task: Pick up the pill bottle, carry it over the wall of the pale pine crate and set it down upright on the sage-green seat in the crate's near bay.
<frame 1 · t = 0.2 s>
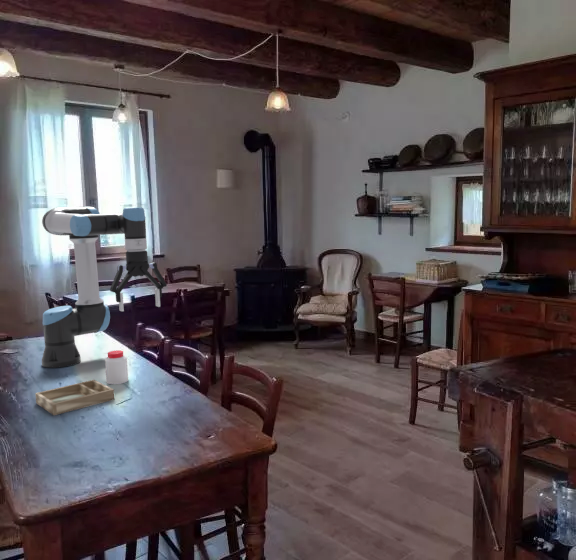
hand: (140, 308, 206), 27 cm above the table, fingers open, 13 cm apart
crate: (75, 401, 188), on the table
pill bottle: (117, 381, 210), on the table
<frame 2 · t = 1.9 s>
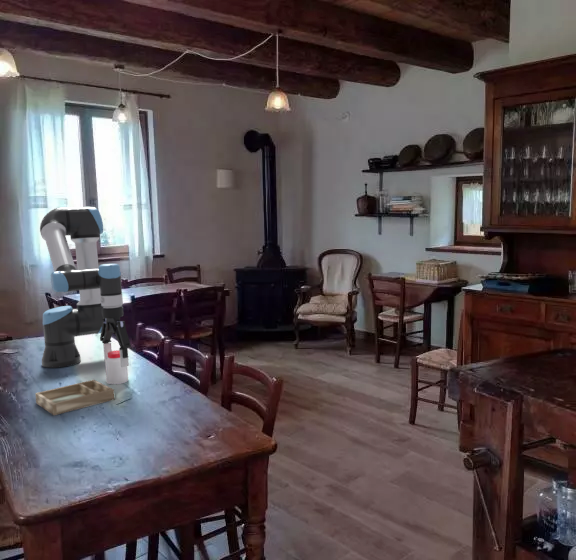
hand: (116, 363, 208), 7 cm above the table, fingers open, 13 cm apart
nothing on the table moved.
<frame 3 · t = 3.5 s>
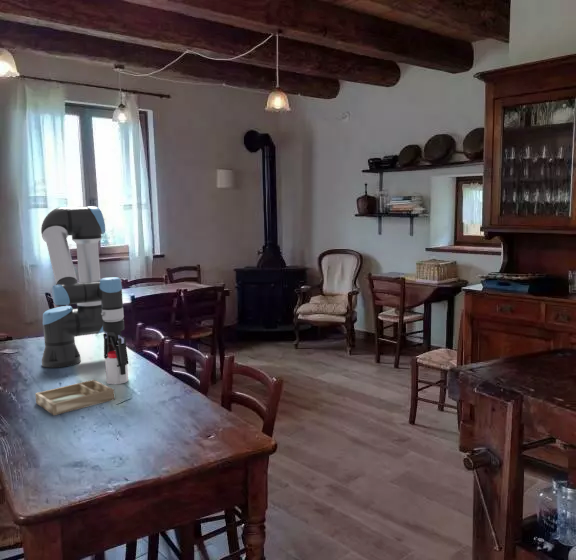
hand: (117, 380, 210), 0 cm above the table, fingers closed on pill bottle, 8 cm apart
pill bottle: (117, 381, 210), on the table, touching gripper
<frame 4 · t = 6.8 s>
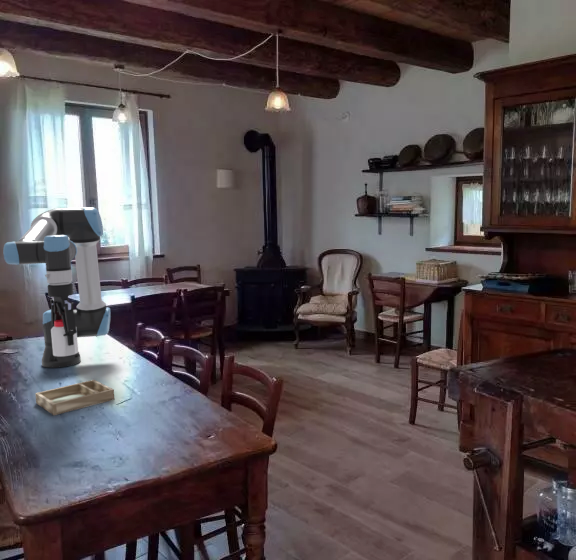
hand: (65, 352, 185), 17 cm above the table, fingers closed on pill bottle, 8 cm apart
pill bottle: (65, 354, 185), point 17 cm above the table, touching gripper
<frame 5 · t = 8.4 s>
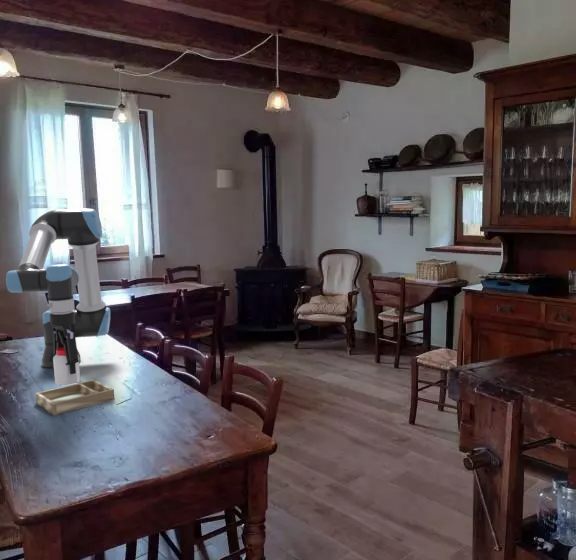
hand: (67, 380, 186), 8 cm above the table, fingers closed on pill bottle, 8 cm apart
pill bottle: (67, 382, 186), point 7 cm above the table, touching gripper
when the fingers open (4 cm above the table, at t = 10.0 s): pill bottle drops 3 cm, resting on crate.
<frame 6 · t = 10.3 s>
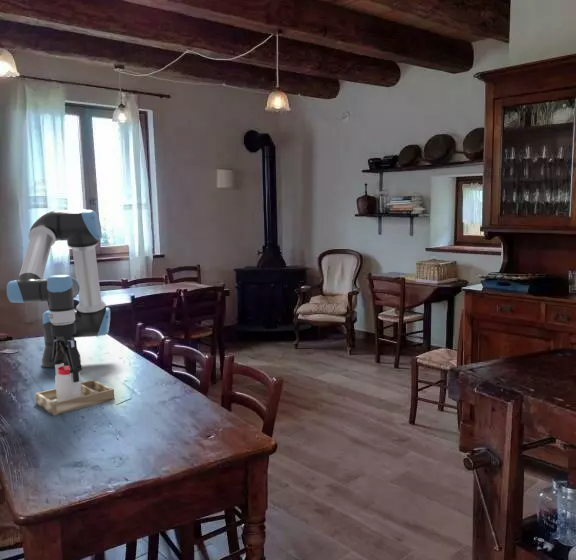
hand: (68, 387, 186), 5 cm above the table, fingers open, 12 cm apart
pill bottle: (69, 400, 187), point 1 cm above the table, touching crate
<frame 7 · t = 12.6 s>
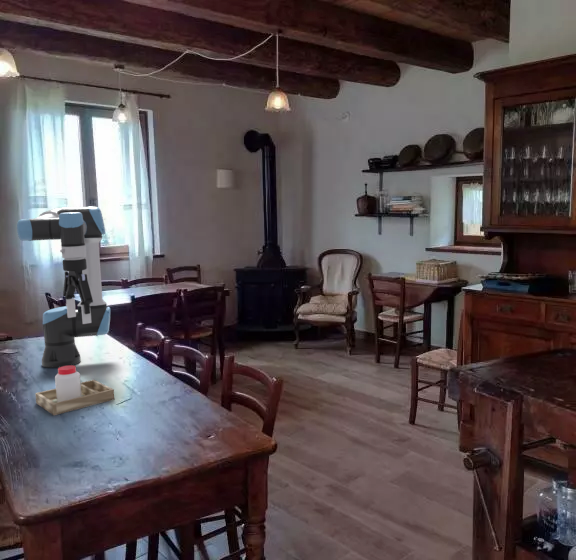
hand: (79, 320, 194), 26 cm above the table, fingers open, 13 cm apart
nothing on the table moved.
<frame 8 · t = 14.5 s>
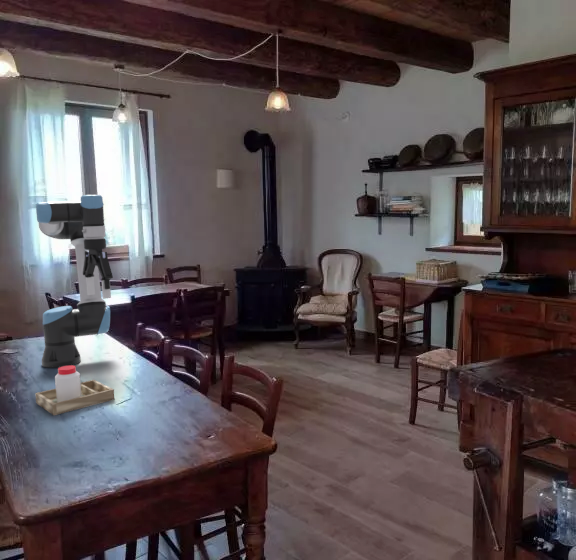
hand: (98, 296, 207), 32 cm above the table, fingers open, 13 cm apart
nothing on the table moved.
at the end: pill bottle inside the target area on the crate (0.0 cm from its centre), point 0.8 cm above the crate's base; pill bottle tilted 0°; the gripper is holding nothing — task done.
